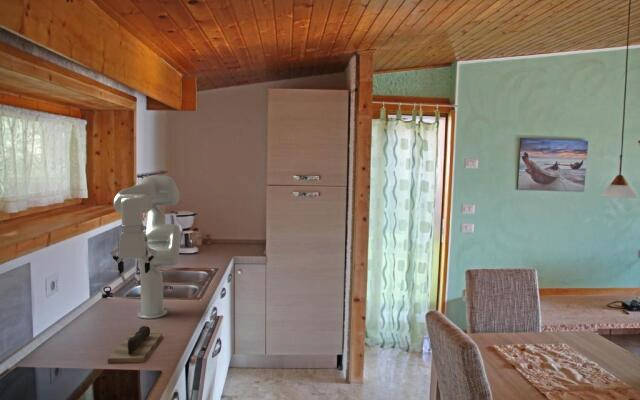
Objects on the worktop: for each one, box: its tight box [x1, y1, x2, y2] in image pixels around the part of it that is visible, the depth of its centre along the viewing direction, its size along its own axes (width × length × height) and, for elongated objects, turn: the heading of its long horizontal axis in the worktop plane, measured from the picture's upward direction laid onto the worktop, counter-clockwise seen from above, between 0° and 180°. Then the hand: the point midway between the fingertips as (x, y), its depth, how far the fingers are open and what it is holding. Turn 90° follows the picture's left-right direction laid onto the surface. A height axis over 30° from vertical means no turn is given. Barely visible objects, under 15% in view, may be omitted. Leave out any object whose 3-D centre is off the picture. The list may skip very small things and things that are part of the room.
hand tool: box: [128, 325, 151, 354], centre depth 176 cm, size 19×4×5 cm, turn 1°
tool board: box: [107, 332, 163, 364], centre depth 176 cm, size 24×12×2 cm, turn 3°
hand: (134, 272), depth 186 cm, fingers open, 9 cm apart
